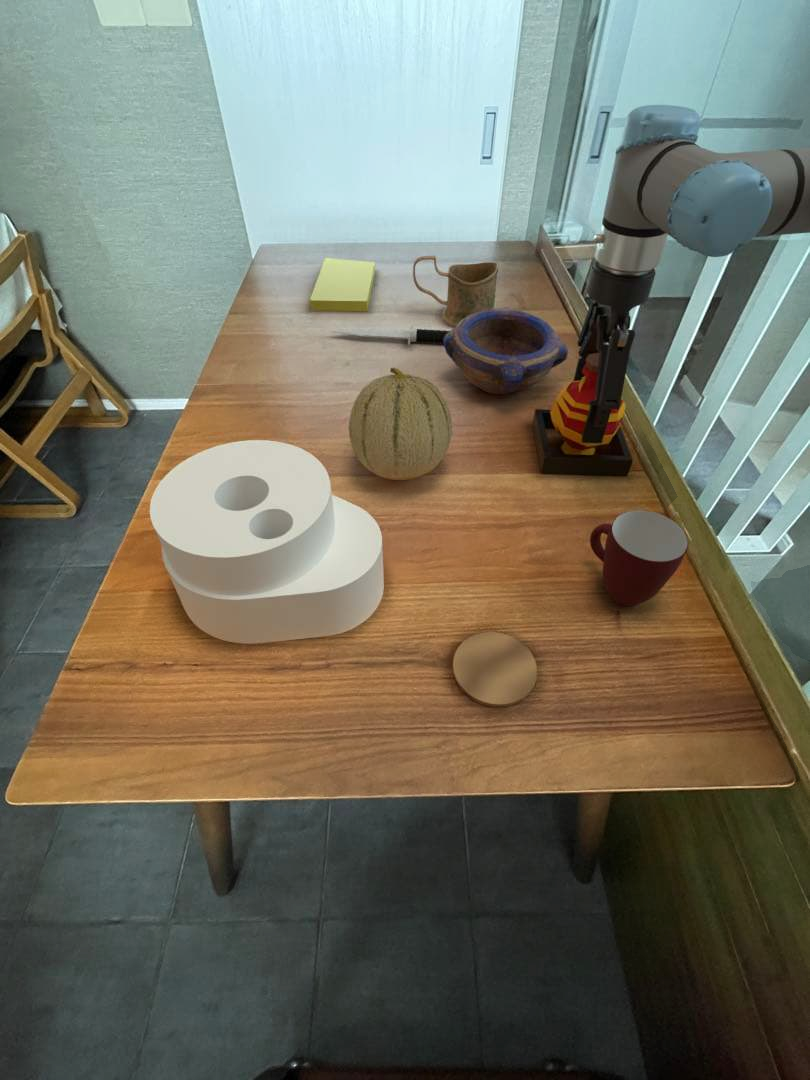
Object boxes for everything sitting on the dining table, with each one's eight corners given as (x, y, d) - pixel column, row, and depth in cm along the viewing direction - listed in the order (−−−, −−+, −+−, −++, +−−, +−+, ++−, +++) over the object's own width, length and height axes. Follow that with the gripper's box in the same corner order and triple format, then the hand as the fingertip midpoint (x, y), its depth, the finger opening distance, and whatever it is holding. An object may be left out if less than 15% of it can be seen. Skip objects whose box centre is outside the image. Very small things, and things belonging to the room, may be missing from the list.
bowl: (497, 422, 95) (505, 367, 88) (430, 377, 106) (431, 323, 99) (573, 388, 103) (585, 334, 96) (503, 348, 113) (509, 296, 106)
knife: (461, 326, 114) (460, 337, 111) (460, 338, 116) (459, 350, 113) (331, 318, 116) (326, 330, 113) (332, 330, 118) (327, 342, 115)
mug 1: (413, 304, 127) (414, 245, 118) (495, 305, 127) (501, 246, 118) (412, 328, 119) (412, 267, 110) (498, 330, 118) (506, 268, 110)
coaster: (552, 664, 63) (553, 661, 63) (506, 724, 59) (507, 721, 58) (483, 621, 67) (483, 618, 67) (435, 673, 63) (435, 670, 62)
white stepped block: (359, 667, 63) (350, 586, 53) (149, 626, 67) (105, 543, 57) (400, 539, 77) (399, 455, 67) (224, 511, 81) (199, 428, 71)
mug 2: (560, 580, 72) (577, 521, 65) (598, 548, 76) (618, 489, 68) (635, 632, 66) (663, 574, 59) (672, 595, 70) (702, 536, 63)
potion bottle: (572, 422, 96) (593, 335, 85) (625, 451, 90) (655, 362, 79) (529, 446, 91) (545, 358, 80) (582, 479, 85) (608, 389, 75)
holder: (627, 476, 86) (633, 460, 84) (541, 473, 86) (544, 457, 84) (610, 426, 95) (615, 411, 92) (532, 424, 95) (535, 409, 93)
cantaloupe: (385, 515, 80) (381, 422, 69) (333, 459, 89) (323, 370, 78) (470, 476, 86) (479, 386, 75) (414, 428, 94) (415, 341, 84)
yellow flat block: (367, 311, 125) (375, 267, 141) (366, 301, 123) (375, 258, 140) (310, 310, 125) (326, 267, 142) (309, 300, 123) (325, 257, 140)
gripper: (578, 231, 79) (549, 377, 95) (612, 305, 63) (570, 466, 79) (634, 232, 79) (596, 379, 94) (683, 306, 63) (627, 468, 78)
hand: (584, 419), depth 87 cm, fingers closed on potion bottle, 10 cm apart
